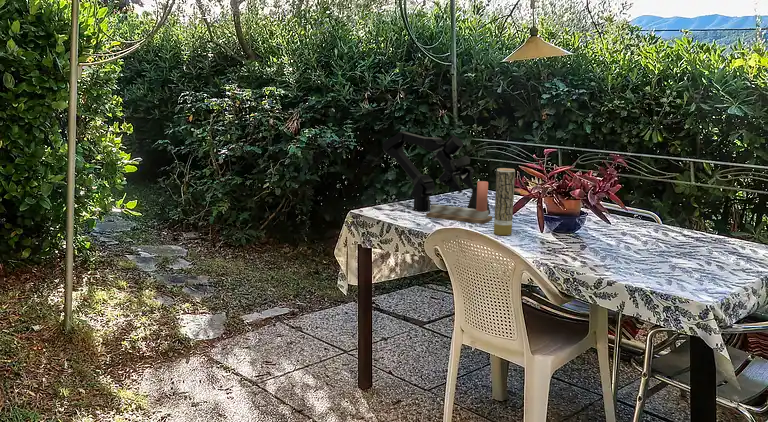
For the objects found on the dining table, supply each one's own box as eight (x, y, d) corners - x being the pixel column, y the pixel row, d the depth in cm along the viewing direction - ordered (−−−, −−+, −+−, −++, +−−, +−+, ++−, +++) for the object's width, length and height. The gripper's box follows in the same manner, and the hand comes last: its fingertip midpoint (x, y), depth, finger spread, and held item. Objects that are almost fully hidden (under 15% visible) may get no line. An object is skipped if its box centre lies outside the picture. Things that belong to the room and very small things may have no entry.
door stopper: (490, 213, 289) (491, 186, 286) (481, 215, 285) (482, 188, 283) (475, 210, 296) (476, 184, 293) (466, 211, 292) (467, 185, 289)
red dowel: (476, 211, 271) (477, 182, 269) (476, 209, 275) (477, 181, 273) (487, 211, 270) (488, 183, 268) (486, 209, 275) (488, 181, 272)
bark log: (511, 236, 248) (515, 171, 243) (493, 235, 249) (496, 170, 244) (511, 232, 254) (515, 168, 249) (494, 231, 256) (497, 167, 251)
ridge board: (426, 217, 280) (426, 206, 279) (435, 212, 289) (435, 202, 288) (483, 224, 268) (484, 213, 267) (492, 219, 277) (492, 209, 276)
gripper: (445, 151, 269) (466, 181, 264) (471, 148, 283) (491, 176, 278) (429, 168, 276) (450, 197, 271) (455, 164, 290) (475, 192, 285)
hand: (467, 190), depth 276 cm, fingers open, 9 cm apart
